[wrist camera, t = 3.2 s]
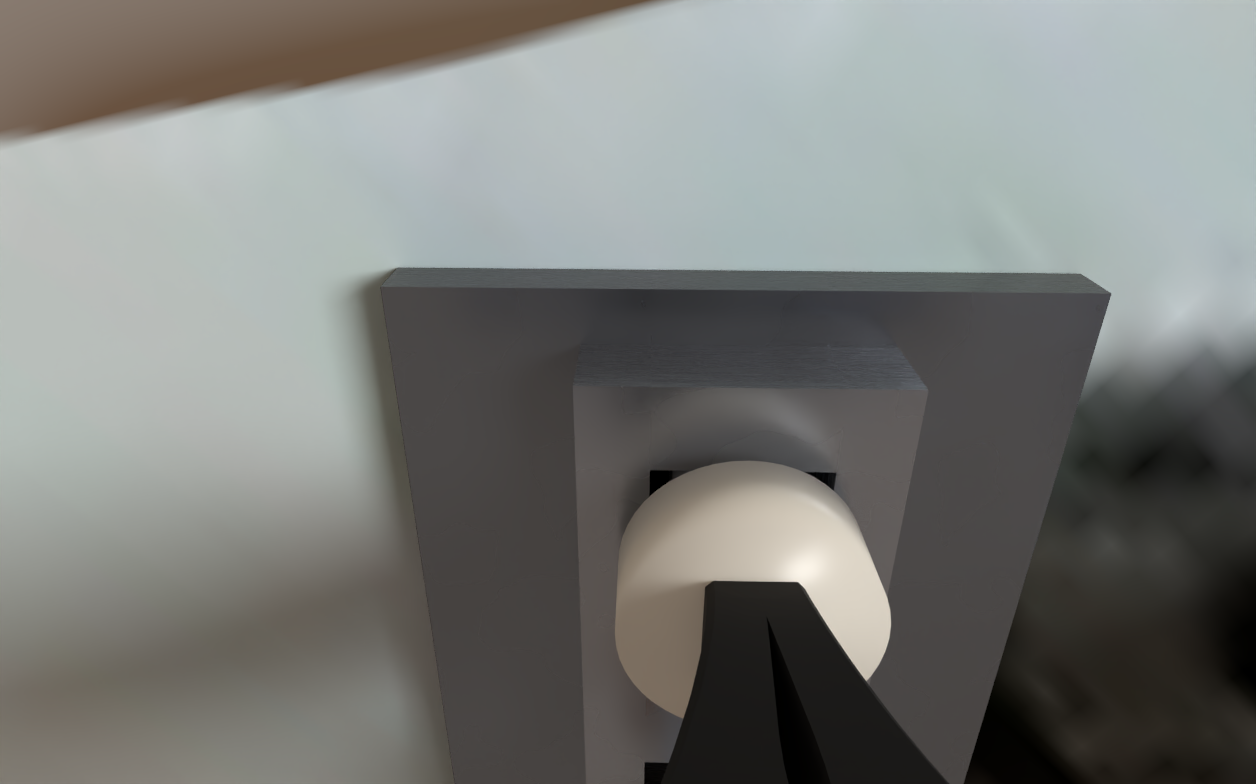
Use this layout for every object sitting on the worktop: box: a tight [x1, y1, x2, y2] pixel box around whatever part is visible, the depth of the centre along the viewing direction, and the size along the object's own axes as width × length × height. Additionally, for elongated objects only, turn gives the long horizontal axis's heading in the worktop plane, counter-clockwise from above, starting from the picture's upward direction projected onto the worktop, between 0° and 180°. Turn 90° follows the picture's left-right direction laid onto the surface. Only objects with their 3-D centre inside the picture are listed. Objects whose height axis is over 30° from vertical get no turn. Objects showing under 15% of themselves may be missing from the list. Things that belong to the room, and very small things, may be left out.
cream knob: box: [615, 461, 891, 718], centre depth 13 cm, size 4×4×4 cm
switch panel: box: [381, 268, 1111, 784], centre depth 18 cm, size 12×22×3 cm, turn 0°
